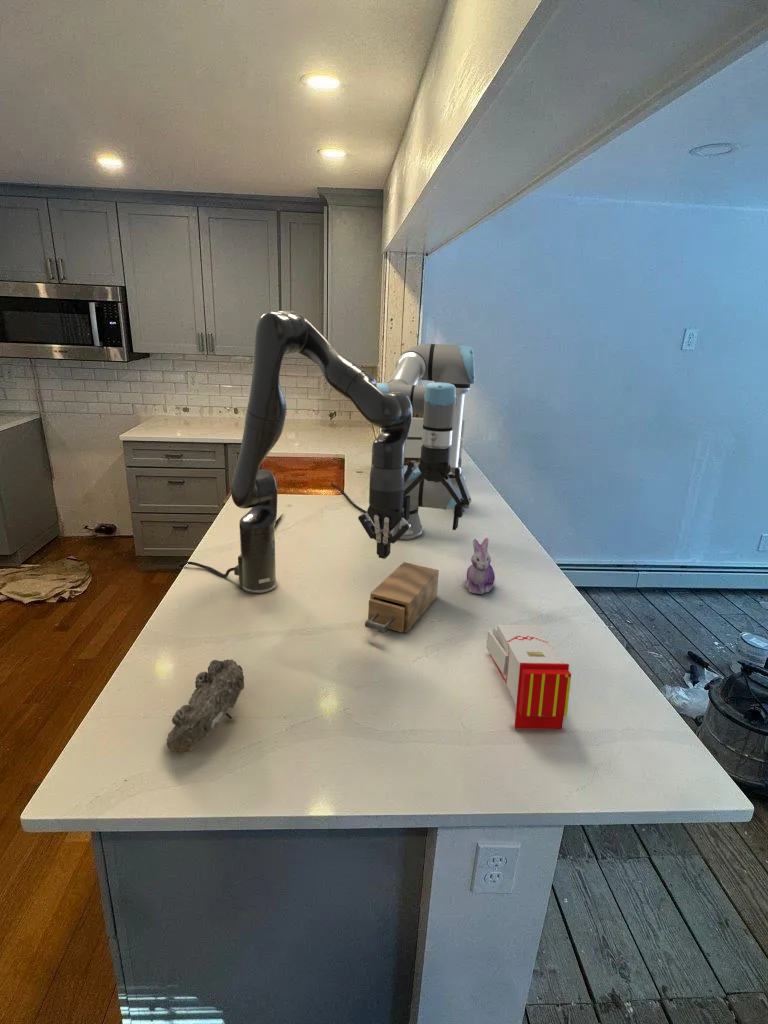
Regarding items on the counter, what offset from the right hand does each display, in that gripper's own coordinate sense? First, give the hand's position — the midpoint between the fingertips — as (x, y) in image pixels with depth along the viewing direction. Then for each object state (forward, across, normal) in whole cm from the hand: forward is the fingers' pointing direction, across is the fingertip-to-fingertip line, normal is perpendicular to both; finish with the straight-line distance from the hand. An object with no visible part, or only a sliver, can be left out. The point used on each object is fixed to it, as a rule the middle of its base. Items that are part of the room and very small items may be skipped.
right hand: (430, 524), depth 150 cm
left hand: (0, -4, -25) cm, 25 cm away
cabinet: (+21, -3, -9) cm, 23 cm away
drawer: (+21, -3, -15) cm, 25 cm away
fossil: (+22, -22, -64) cm, 71 cm away
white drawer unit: (+21, -40, +118) cm, 127 cm away
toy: (+22, +31, -30) cm, 48 cm away
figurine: (+21, +13, +12) cm, 27 cm away
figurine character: (+21, -10, +77) cm, 80 cm away
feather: (+21, -67, +34) cm, 78 cm away
